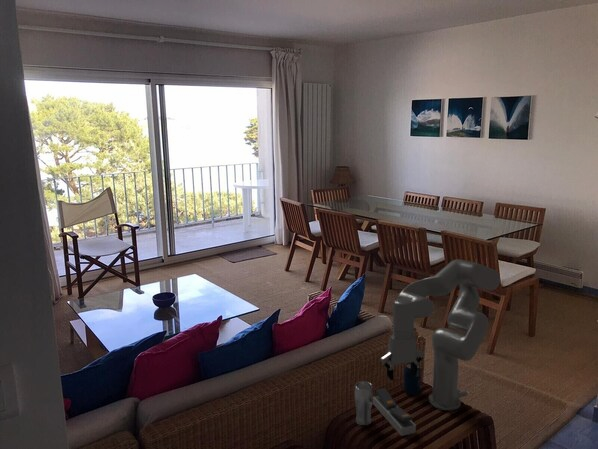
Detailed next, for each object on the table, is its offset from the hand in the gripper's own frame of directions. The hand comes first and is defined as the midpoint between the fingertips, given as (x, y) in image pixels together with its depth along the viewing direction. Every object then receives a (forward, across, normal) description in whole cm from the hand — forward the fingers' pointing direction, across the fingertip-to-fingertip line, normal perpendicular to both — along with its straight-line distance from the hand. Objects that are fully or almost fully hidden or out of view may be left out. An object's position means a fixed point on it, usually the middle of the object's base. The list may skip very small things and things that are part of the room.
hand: (402, 376), depth 178 cm
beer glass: (+20, +12, -8) cm, 25 cm away
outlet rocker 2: (+15, 0, 0) cm, 15 cm away
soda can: (+20, -17, -20) cm, 34 cm away
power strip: (+20, 0, -6) cm, 21 cm away
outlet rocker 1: (+15, 0, -12) cm, 20 cm away
